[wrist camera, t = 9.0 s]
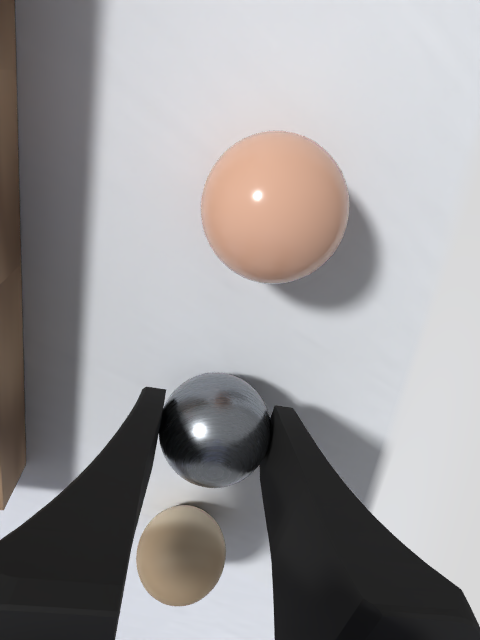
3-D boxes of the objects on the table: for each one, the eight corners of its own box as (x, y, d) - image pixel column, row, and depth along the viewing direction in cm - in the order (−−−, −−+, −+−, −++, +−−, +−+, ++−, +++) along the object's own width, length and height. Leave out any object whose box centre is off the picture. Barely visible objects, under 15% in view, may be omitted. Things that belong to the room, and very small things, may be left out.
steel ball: (251, 434, 16) (259, 518, 13) (158, 422, 15) (144, 506, 12) (276, 360, 14) (292, 436, 11) (172, 343, 14) (161, 418, 11)
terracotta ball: (307, 263, 13) (336, 321, 10) (192, 240, 12) (184, 294, 9) (348, 141, 11) (396, 166, 8) (216, 108, 11) (216, 121, 8)
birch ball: (216, 541, 19) (216, 627, 16) (139, 534, 19) (124, 622, 16) (232, 491, 18) (235, 577, 15) (148, 482, 17) (134, 568, 14)
